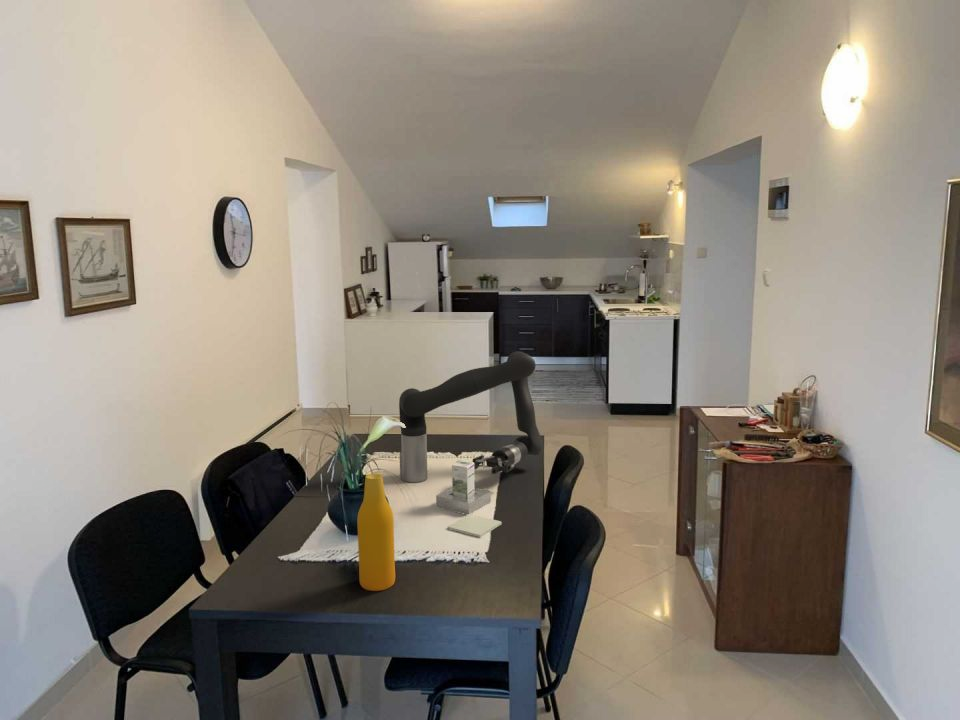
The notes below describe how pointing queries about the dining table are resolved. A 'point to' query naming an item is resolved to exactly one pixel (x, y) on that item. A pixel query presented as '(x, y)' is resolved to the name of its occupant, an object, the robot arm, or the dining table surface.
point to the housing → (463, 501)
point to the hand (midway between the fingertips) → (482, 469)
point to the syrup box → (463, 479)
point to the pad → (474, 525)
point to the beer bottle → (375, 537)
